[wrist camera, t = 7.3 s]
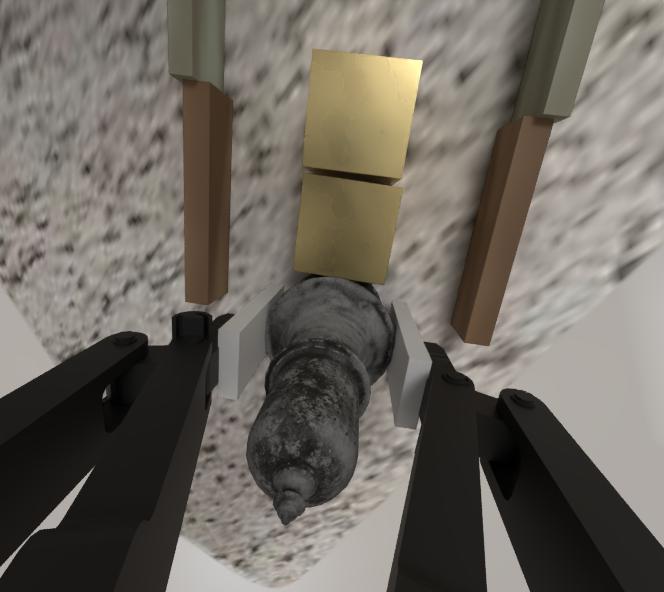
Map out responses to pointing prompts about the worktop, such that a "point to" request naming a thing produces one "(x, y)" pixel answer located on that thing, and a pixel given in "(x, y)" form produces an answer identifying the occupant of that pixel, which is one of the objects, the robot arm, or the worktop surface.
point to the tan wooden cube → (346, 228)
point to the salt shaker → (317, 389)
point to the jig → (502, 178)
